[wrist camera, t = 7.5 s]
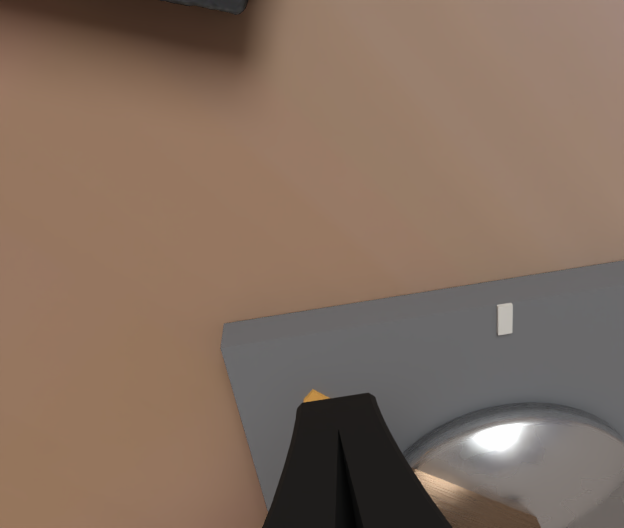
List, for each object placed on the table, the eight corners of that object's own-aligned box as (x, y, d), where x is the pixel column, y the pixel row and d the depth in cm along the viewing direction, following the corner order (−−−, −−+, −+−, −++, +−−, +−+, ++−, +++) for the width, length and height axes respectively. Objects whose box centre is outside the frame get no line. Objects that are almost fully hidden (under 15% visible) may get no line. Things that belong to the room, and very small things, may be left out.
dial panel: (764, 238, 21) (800, 260, 20) (681, 571, 31) (701, 602, 30) (224, 323, 22) (220, 350, 20) (308, 624, 32) (309, 657, 30)
